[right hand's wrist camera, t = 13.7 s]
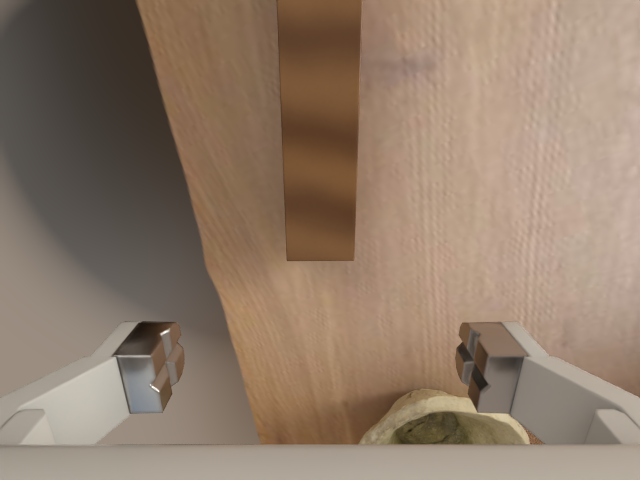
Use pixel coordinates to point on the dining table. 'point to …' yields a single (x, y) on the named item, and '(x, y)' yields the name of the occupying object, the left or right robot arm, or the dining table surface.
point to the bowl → (442, 422)
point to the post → (320, 125)
